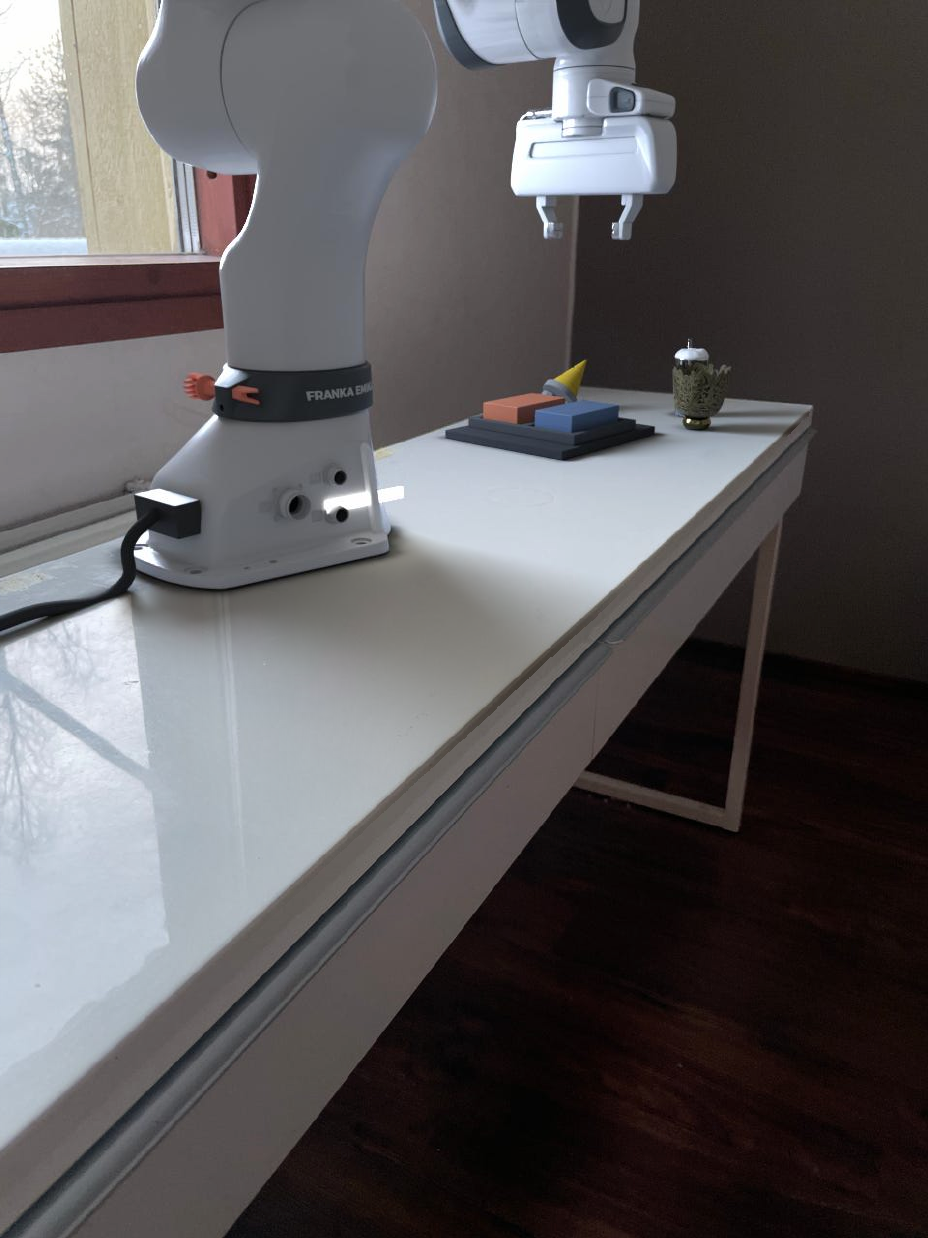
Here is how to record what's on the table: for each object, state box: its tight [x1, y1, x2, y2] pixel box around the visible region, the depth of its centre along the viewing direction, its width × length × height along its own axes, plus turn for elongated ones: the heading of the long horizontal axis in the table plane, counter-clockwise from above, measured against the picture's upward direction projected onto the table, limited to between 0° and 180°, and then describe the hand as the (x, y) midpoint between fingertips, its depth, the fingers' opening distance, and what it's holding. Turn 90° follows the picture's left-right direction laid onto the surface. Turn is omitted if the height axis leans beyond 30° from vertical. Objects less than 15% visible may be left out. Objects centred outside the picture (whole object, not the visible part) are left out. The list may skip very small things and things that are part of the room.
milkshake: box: [674, 338, 710, 418], centre depth 132 cm, size 4×5×10 cm
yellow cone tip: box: [541, 359, 588, 404], centre depth 136 cm, size 5×5×10 cm
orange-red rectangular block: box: [482, 392, 565, 425], centre depth 122 cm, size 10×6×3 cm, turn 139°
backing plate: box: [444, 414, 656, 461], centre depth 120 cm, size 20×18×2 cm
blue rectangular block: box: [535, 399, 620, 433], centre depth 117 cm, size 10×6×3 cm, turn 138°
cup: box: [671, 362, 733, 431], centre depth 124 cm, size 8×7×8 cm
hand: (586, 239), depth 109 cm, fingers open, 8 cm apart
